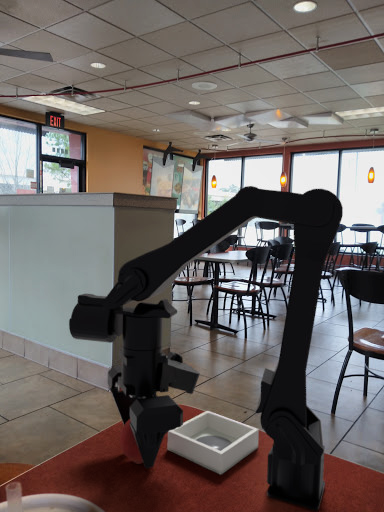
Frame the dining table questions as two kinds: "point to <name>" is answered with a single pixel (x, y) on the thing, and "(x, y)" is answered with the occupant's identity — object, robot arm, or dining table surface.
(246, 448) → the tray
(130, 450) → the onion
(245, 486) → the dining table surface
